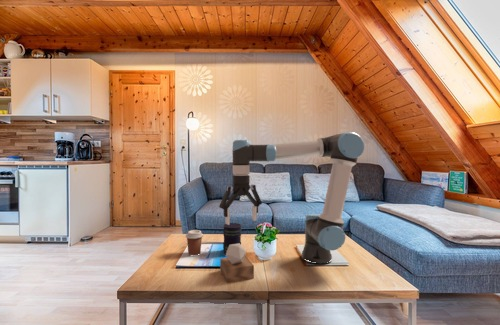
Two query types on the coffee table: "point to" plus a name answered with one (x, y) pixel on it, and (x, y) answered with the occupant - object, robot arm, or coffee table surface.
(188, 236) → the coffee cup
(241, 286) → the coffee table surface
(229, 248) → the die
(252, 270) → the walnut block
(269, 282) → the coffee table surface
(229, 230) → the storage jar
